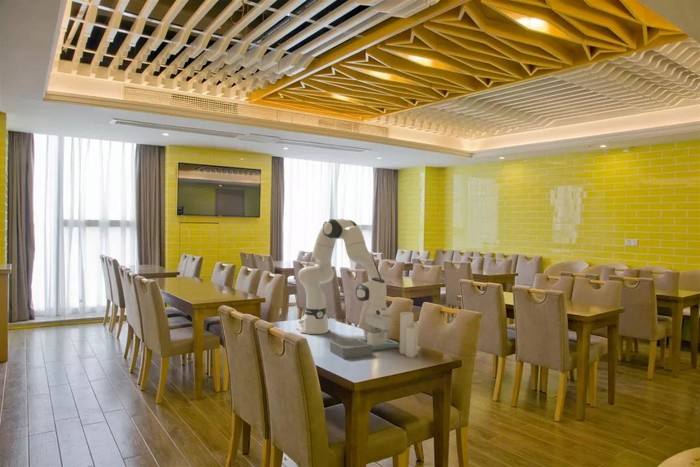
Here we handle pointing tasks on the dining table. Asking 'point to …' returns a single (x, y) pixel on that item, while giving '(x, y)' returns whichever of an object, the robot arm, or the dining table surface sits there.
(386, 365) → the dining table surface
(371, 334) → the caddy
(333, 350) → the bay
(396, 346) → the tray
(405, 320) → the candle
